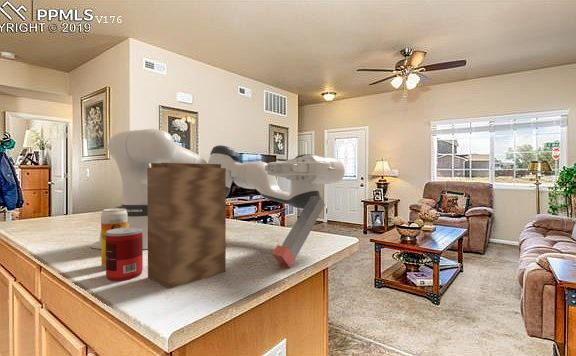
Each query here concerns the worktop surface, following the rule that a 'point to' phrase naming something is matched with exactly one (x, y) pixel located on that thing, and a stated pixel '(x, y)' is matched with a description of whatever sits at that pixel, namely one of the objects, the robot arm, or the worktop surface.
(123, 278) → the canned food
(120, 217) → the beer can
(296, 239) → the metal block
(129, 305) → the worktop surface
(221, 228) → the wooden slab
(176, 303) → the worktop surface
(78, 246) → the worktop surface
